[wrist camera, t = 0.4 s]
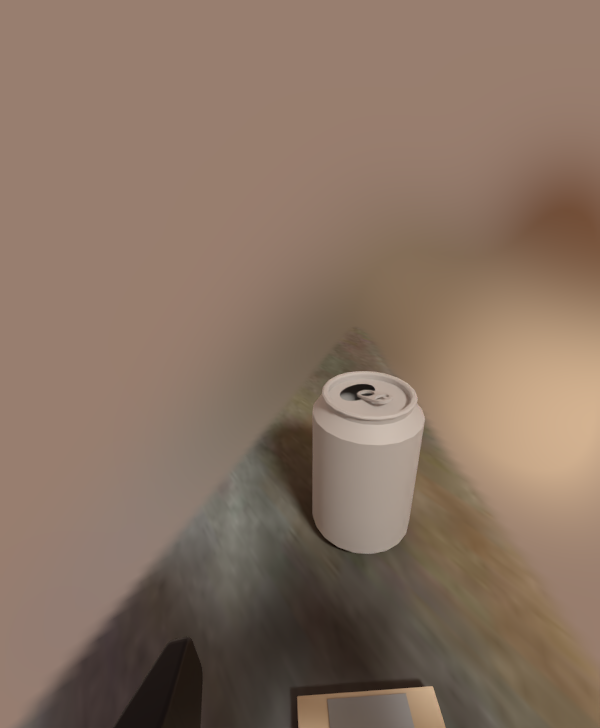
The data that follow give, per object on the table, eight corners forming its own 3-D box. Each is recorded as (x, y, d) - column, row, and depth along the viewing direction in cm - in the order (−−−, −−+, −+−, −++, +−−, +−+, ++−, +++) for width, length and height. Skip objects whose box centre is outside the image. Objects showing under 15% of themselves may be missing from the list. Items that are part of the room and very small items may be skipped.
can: (357, 474, 35) (365, 356, 30) (427, 525, 29) (451, 392, 24) (293, 515, 31) (289, 385, 25) (361, 583, 25) (374, 437, 20)
